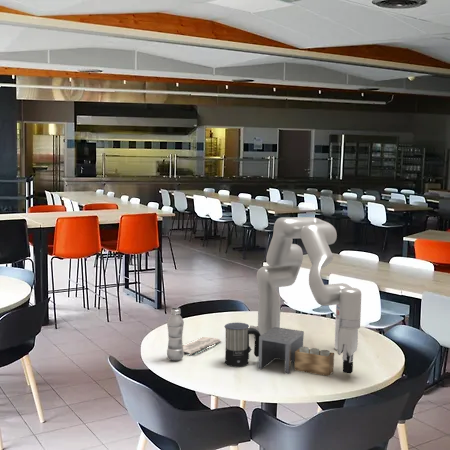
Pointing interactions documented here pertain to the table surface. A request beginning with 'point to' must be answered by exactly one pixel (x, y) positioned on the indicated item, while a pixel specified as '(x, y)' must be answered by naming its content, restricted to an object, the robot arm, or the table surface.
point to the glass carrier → (314, 361)
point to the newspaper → (200, 344)
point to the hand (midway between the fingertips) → (347, 372)
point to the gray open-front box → (279, 346)
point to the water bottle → (337, 327)
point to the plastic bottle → (175, 335)
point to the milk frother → (239, 344)
